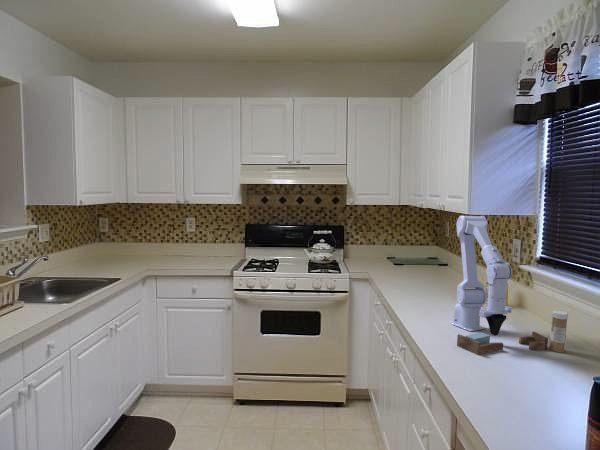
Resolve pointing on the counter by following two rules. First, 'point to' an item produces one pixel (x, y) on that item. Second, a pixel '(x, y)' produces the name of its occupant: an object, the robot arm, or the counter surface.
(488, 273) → the robot arm
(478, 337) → the pale teal block
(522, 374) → the counter surface
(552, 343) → the sprinkles bottle
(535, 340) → the brown stepped block
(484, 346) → the endcap rail
